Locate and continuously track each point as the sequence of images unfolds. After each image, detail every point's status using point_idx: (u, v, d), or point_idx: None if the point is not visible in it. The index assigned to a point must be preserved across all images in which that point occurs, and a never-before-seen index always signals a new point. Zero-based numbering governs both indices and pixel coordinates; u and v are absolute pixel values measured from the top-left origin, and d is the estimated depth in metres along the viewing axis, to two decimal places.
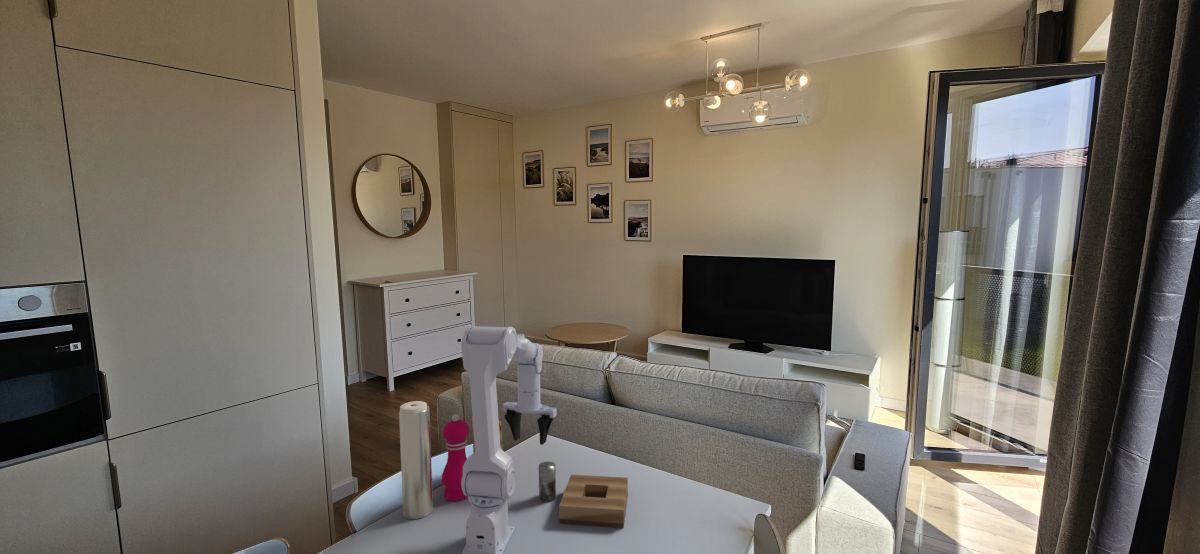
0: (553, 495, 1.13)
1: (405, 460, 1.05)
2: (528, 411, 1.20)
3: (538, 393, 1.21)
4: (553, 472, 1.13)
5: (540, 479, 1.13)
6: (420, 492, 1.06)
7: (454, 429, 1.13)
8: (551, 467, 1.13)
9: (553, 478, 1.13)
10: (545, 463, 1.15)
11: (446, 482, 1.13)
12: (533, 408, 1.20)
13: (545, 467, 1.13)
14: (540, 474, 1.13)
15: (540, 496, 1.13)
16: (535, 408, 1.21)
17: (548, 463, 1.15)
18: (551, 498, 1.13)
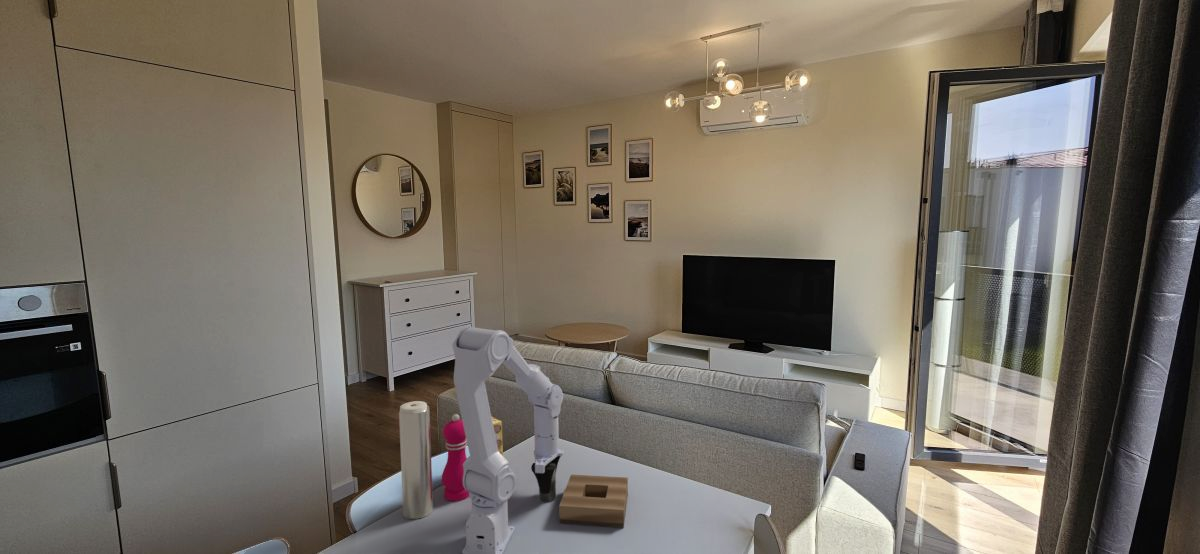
0: (553, 495, 1.13)
1: (405, 460, 1.05)
2: None
3: (542, 440, 1.11)
4: None
5: None
6: (420, 492, 1.06)
7: (454, 429, 1.13)
8: None
9: (553, 478, 1.13)
10: None
11: (446, 482, 1.13)
12: (536, 453, 1.12)
13: None
14: None
15: (540, 496, 1.13)
16: (538, 454, 1.11)
17: (548, 463, 1.15)
18: (551, 498, 1.13)
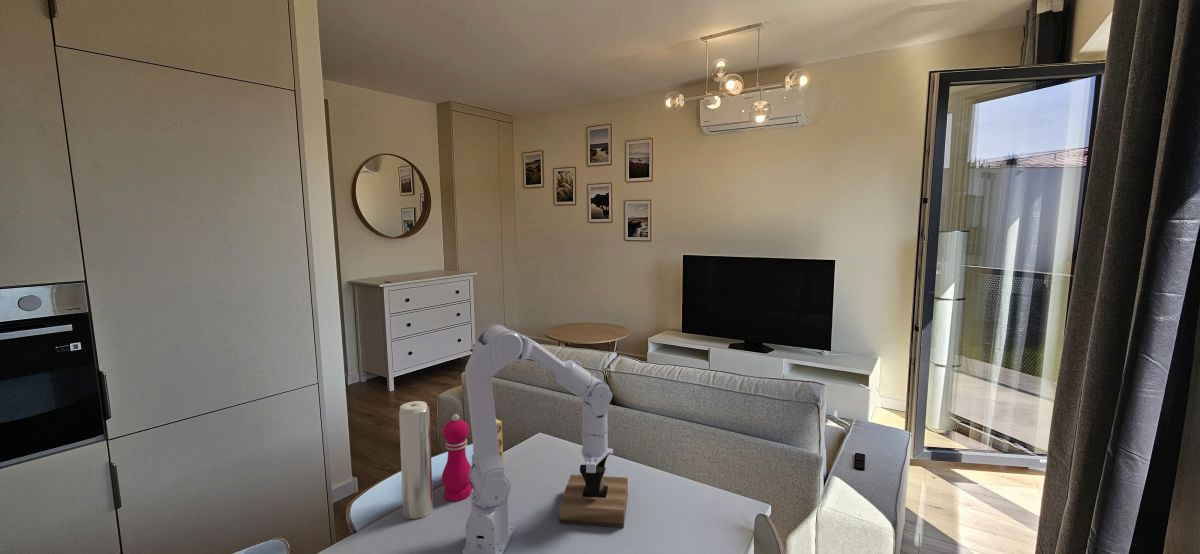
0: None
1: (405, 460, 1.05)
2: (582, 452, 1.08)
3: (592, 438, 1.06)
4: None
5: None
6: (420, 492, 1.06)
7: (454, 429, 1.12)
8: None
9: (601, 483, 1.08)
10: None
11: (446, 482, 1.13)
12: (585, 452, 1.07)
13: None
14: None
15: None
16: (587, 453, 1.07)
17: None
18: None
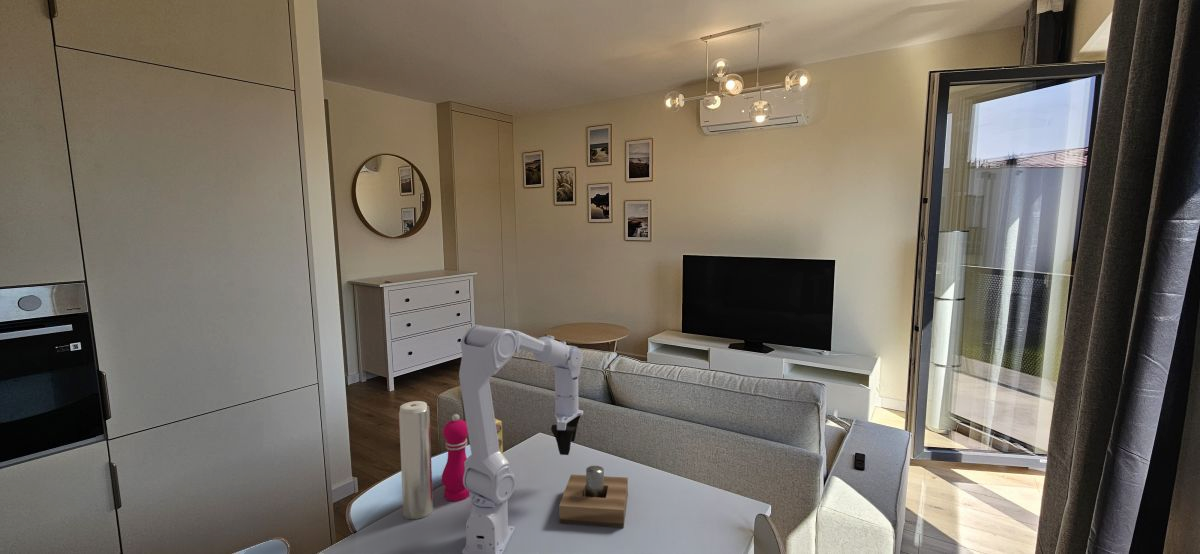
0: None
1: (405, 460, 1.05)
2: None
3: (563, 400, 1.15)
4: (601, 477, 1.08)
5: (588, 483, 1.09)
6: (420, 492, 1.06)
7: (454, 429, 1.12)
8: (599, 472, 1.08)
9: (601, 483, 1.08)
10: (593, 467, 1.11)
11: (446, 482, 1.13)
12: (557, 412, 1.16)
13: (593, 471, 1.09)
14: (588, 478, 1.08)
15: None
16: (559, 413, 1.15)
17: (596, 467, 1.11)
18: None
